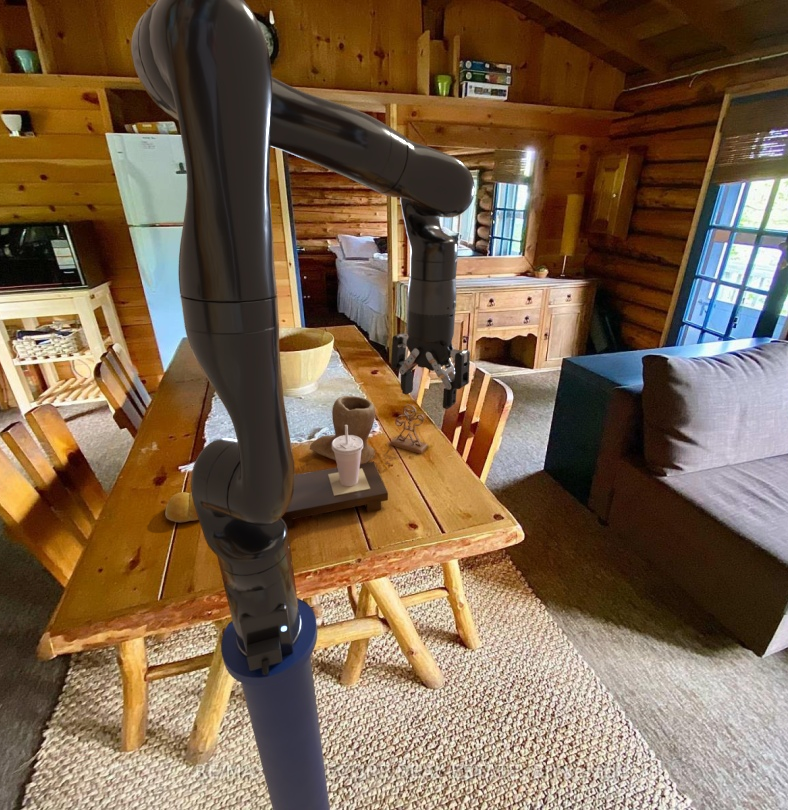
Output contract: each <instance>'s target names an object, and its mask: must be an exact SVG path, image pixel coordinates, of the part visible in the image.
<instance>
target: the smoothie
mask: <svg viewBox="0 0 788 810" xmlns="http://www.w3.org/2000/svg"><path fill="white" fill-rule="evenodd" d="M362 449H363V441H362V439H361V438H359V437H357V436H354V435H348V425H345V435H343V436H340V437H337V438H336V439H334V440H333V442H332V450H333V451H334V453H335V458H336V461H335V462H336V468H338V472H339V477H340V481H341V484H342V485H344V486H354V485H356V484H357V483H358V477H359V467H360V458H361V450H362Z"/></svg>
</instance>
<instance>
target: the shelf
mask: <svg viewBox="0 0 788 810" xmlns="http://www.w3.org/2000/svg"><path fill="white" fill-rule="evenodd" d="M386 501H389V492H388V489H387V488H386V485H385V484H384V481H383V479H382V476H381V475H380V473H379V471H378V468H377V466H376V463H375V461H369V462H367V463H362V464H360V467H359V477H358V483H357V484H356V485H354V486H344V485H342V484H341V481H340V477H339V472H338V467H333V468H327V469H321V470H315V471H309V472H303V473H298V474H296V473H295V484H294V491H293V495H292V499H291V502H290V504H289V507H288V509H287V510H286V512H285V514H284V515H283V516H282V517H281V518H282V519H283V520H284V522H285V523H286V525H287V528H288V529H289V528H290V529H291V528H294V523H293V520H295V519H300V518H305V517H311V516H315V515H320V514H326V513H330V512H335V511H341V510H346V509H351V508H355V507H361V506H364V508H365V510H366V512H367V513H370V512H374V511H375V512H376V511H380V510H382V502H386Z"/></svg>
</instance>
